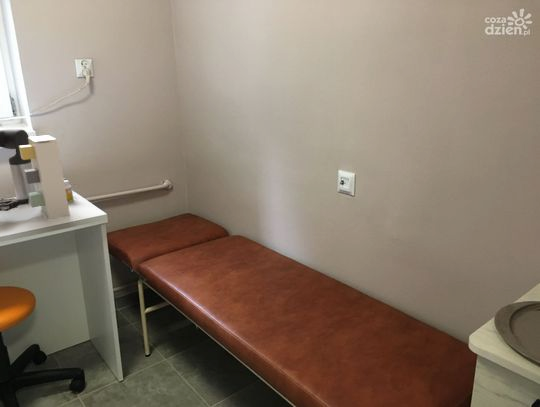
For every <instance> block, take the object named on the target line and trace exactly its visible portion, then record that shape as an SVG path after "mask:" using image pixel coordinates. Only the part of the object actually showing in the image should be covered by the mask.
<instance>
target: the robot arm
mask: <svg viewBox="0 0 540 407" xmlns="http://www.w3.org/2000/svg"><path fill="white" fill-rule="evenodd" d="M28 137H30V136H29V134H28V132H27V131H26V130H25V129H22V128H21V129H19V128H17V129H11V128H10V129H0V148H3V149H7V150H15V155H13V156H11V157H9V158H8V163H9V168H10V172H11V177H12V182H13V188H14V192H15V197H16V198H14V197H13V198H1V199H0V212H8V211H11V210H14V209H17V208H18V207H19V206H22V205H27V204H30V200H29V194H28V193H32V192H38V188H37V183H32V184H28V183H27V182H26V179H25V174H24V170H26V169H33V168H34V167H33V162H32V159H27V160H23V159H22V158H21V154H20V149H19V146H22V145H29V141H28Z"/></svg>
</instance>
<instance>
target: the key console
mask: <svg viewBox="0 0 540 407" xmlns="http://www.w3.org/2000/svg"><path fill="white" fill-rule="evenodd" d="M28 141H29V145H33V147H34V152H35V157H36V158H35V159H31V163H32V168H36V169H38V173H39V178H40V182H39V183H36V188H37V192H38V191H41V192H42V194H43V199H44V204H45V205H44V206H40V208H41V210H42V211H43V213H44V215H46V217H47V218H48V220H49V219H55V218H60V217H66V216H70V215H71V214H70V213H71V212H70V208H69V202H67V196H66V190H65V184H64V179H63V178H64V174H63V169H62V168H63V167H62V162H61V156H60V150H59V144H58V140H57V138H55V137H54V136H51V135H38V136H37V135H36V136H29V137H28Z"/></svg>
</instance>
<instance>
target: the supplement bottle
mask: <svg viewBox="0 0 540 407" xmlns="http://www.w3.org/2000/svg"><path fill="white" fill-rule="evenodd" d="M64 184H65V190H66V196H67V202H68V203H71V202H73V201H74V196H73V189H72V186H71V184H70V181H69V180H68V179H67V180H64Z"/></svg>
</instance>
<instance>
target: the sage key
mask: <svg viewBox="0 0 540 407" xmlns="http://www.w3.org/2000/svg"><path fill="white" fill-rule="evenodd" d="M28 194H29V199H28V201H29V204H30V206H31V207H32V208H37V207H41V206H44V205H45V204H44V199H43V194H42V192H41V191H38V190H37V192H32V193H28Z"/></svg>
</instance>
